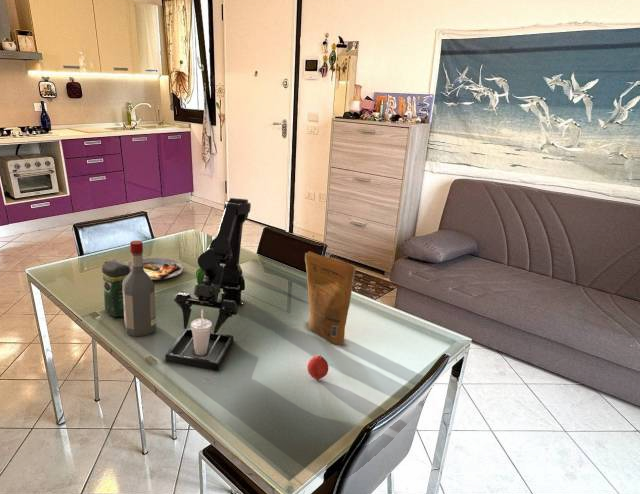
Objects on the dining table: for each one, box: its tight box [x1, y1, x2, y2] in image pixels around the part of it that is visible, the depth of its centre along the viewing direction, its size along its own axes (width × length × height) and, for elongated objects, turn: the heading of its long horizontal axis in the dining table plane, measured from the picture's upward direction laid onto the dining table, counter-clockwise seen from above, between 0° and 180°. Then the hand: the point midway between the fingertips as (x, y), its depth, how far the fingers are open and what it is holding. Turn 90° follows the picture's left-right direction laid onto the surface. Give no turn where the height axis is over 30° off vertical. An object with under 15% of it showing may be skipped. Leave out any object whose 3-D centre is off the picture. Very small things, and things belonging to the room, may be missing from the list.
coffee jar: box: [101, 259, 130, 318], centre depth 150 cm, size 10×8×19 cm
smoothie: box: [190, 308, 213, 356], centre depth 130 cm, size 6×6×14 cm
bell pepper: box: [195, 267, 204, 285], centre depth 174 cm, size 8×8×10 cm
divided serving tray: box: [164, 327, 235, 372], centre depth 132 cm, size 16×16×2 cm
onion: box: [306, 354, 329, 381], centre depth 121 cm, size 6×6×8 cm
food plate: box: [126, 257, 185, 281], centre depth 187 cm, size 25×23×4 cm
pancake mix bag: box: [304, 250, 357, 346], centre depth 141 cm, size 7×19×28 cm, turn 37°
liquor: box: [122, 240, 157, 338], centre depth 138 cm, size 9×9×30 cm
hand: (199, 331), depth 129 cm, fingers open, 9 cm apart
